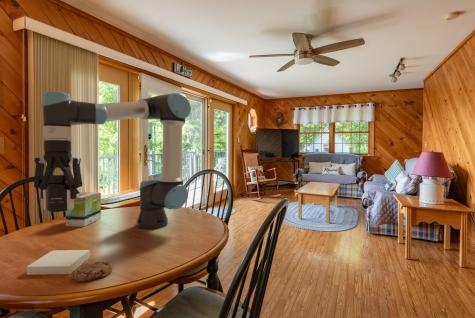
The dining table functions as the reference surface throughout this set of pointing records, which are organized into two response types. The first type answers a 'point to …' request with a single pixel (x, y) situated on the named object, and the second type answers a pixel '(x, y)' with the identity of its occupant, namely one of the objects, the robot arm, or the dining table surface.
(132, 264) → the dining table surface
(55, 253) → the ceramic tile
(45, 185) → the robot arm
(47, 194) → the supplement bottle
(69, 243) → the dining table surface
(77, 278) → the cookie
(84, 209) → the tea box
